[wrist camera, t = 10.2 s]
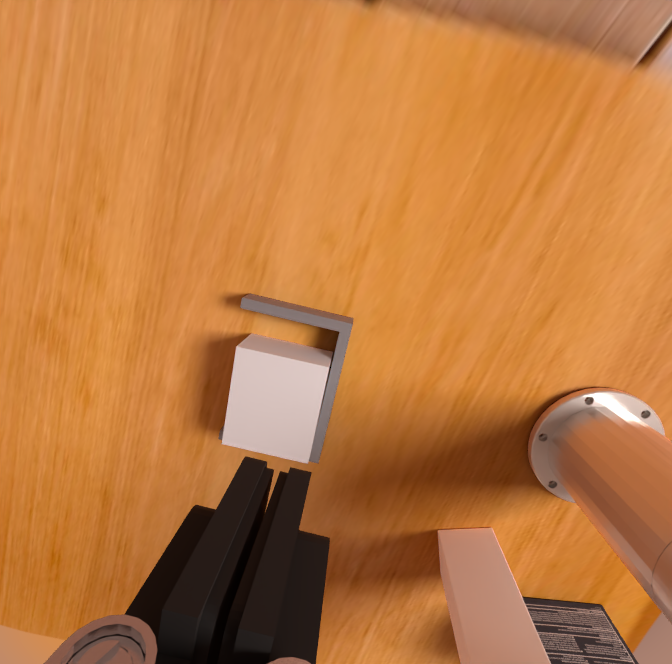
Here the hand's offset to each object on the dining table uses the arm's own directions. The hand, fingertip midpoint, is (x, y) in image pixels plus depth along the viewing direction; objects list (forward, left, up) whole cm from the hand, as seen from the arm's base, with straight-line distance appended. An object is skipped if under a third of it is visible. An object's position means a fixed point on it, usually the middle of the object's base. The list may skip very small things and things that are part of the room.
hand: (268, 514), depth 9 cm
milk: (-20, +24, -29) cm, 43 cm away
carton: (+4, +10, -29) cm, 31 cm away
